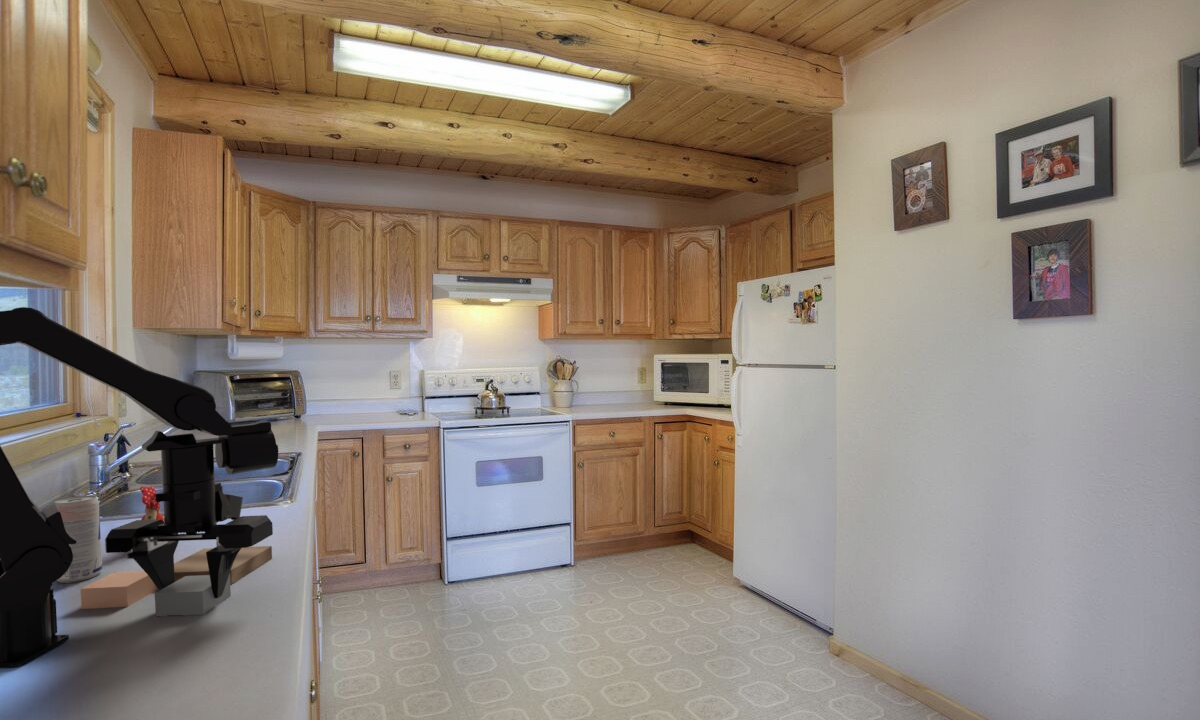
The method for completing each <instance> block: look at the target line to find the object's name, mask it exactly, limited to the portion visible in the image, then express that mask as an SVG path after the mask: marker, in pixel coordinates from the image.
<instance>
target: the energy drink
mask: <svg viewBox="0 0 1200 720" xmlns="http://www.w3.org/2000/svg"><path fill="white" fill-rule="evenodd" d="M53 505H56V506H57V508H58V509H59V511H60V513H61V516H62V520H63V524H64V527H65V528H67V529H68V530H70V531H71V533H72V534H73V536H74V538H75V540H76V541H77V543H76V544H69V545H70V547H71V550H72V553H73V561H72V563H71V565H70V567H69V569H68V570H67V572H66V573H65V574H64V575H63V576H62V577H61V578H59V579H58V580H56V582H59V584H70V583H77V582H78V583H79V582H81V581H86V580H87V581H88V580H89V579H93V578H95V577H97V576H99V575H100V574H101V573H102V571H103V563H102V543H101V541H102V540H101V519H100V517H101V516H100V500H99V499H98V496H97V495H93V494H91V495H79V496H78V495H77V496H71V497H67V498H62V499H59V500H55V501H54V503H53Z"/></svg>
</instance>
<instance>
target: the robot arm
mask: <svg viewBox="0 0 1200 720" xmlns="http://www.w3.org/2000/svg"><path fill="white" fill-rule="evenodd" d="M13 344H20V345H23V346H25V347H27V348H30V349H32V350H34V351H37V352H39V353H41V354H42V355H44V356H46V357H48V358H50V359H52V360H53V361H56V362H58V363H60V364H63V365H65V366H67V367H69V368H70V369H73V370H74V371H77V372H78V373H80V374H82V375H85V376H87V377H88V378H91V379H93V380H95V381H97V382H99V383H101V384H104V385H105V386H108V387H109V388H111V389H114V390H116V391H117V392H120V393H122V394H123V395H124V396H126V397H127V398H129V399H130V400H131V401H133V402H135V404H137V405H138V406H139V407H140V408H142V409H143V410H144V411H146V412H147V413H149V414H150V415H151V416H152V417H155V418H156V419H157V420H158V421H160V422H161V423H162V424H164V425H166V426H168V427H172V428H174V429H177V430H182V431H189V432H190V431H195V430H197V431H198V432H200V433H204V434H210V435H212V436H218V437H211V438H203V439H201V438H200V439H196V436H195V435H194V434H193V433H191V432H190V433H181V434H171V435H166V434H165V433H164V432H163V431H160V430H155V431H154V432H153V434H152V436H151V437H150V438H149V439H148V440H146V441H145V442H144V443H143V444H141V448H142V450H145V451H147V452H157V451H160V455H161V457H160V458H161V460H160V461H161V478H162V491H160V492H156V502H160V503H162V502H163V517H164V521H163V520H161V519H155V520H141V519H135V520H134V521H131V522H128V523H125V524H123V525H120V526H117V527H114V528H111V529H110V531H109V532H108V533H107V535H106V537H105V539H104V541H105V543H104V546H105V548H104V549H105V553H107V554H111V553H113V554H115V553H118V554H120V553H126V558H127V559H133V561H135V562H136V564H138V566H139V567H140V568H141V569H142V571H145V572H146V573H147V575H148V576H149V577H150V579H152V581H153V583H154V584H155V585H156V587H157V588H158V590H157V591H160V590H161V589H163V588H165V587H167V586H169V585H170V584H172V583H174V582H175V574H174V563H175V562H174V561H175V558H174V557H175V552H176V550H177V547H178V544H179V542H181V541H182V542H185V541H186V542H187V541H208V540H212V541H213V540H214V541H215V540H216V542H215V543H216V546H215V547H212V548H213V549H211V550H209V551H207V552H206V556H207V562H208V568H209V574H210V581H211V587H212V591H213V594H214V598H219V597H220V596H222V594H223V591H224V588H225V585H226V583H227V580H228V577H229V574H230V571H231V568H232V565H233V563H234V560H235V558H236V556H237V554H238V553H239V551H240V550H241V548H246V547H254V546H255V545H257V544H258V543H260V542H262V541H264V540H265V539H267V538H269V537H271V536H272V535H274V532H273V530H274V529H273V522H272V521H271V519H270V518H269V516H268V515H266V514H265V515H241V512H242V507H243V506H242V505H243V500H244V498H243V496H239V495H238V496H237V495H234V494H230V493H229V494H228V493H224V491H223V486H222V483H221V482H216V478H215V477H216V476H215V475H216V474H215V462H216V465H217V467H218V469H225V471H226V474H228V475H236V474H241V473H247V472H255V471H261V470H270V469H274V468H276V466H277V464H278V461H279V460H278V459H279V445H278V444H277V441H276V436H275V434H274V432H273V431H272V422H271V421H266V420H263V421H256V422H253V423H247V424H237V425H231V424H230V423H229V422H228V421H227V420H226V419H225V417H223V416H222V415H221V414H220V413H219V412H218V411H217V409H216V408H217V405H216V402H215V401H216V400H215V397H214V396H213V394H212V393H211V392H209V391H208V390H206V389H205V388H203V387H200V386H197V385H194V384H192V383H189V382H186V381H182V380H180V379H177V378H173V377H171V376H170V377H169V376H167V375H164V374H160V373H158V372H154V371H152V370H148V369H146V368H144V367H142V366H140V365H138V364H136V363H134V362H133V361H131V360H129V359H126V357H123V356H121V355H120V354H117V353H116V352H113V351H112V350H110V349H109V348H107V347H104V346H102V345H101V344H99V343H96V342H94V341H93V340H91V339H89V338H87V337H85V336H83V335H82V334H80V333H77V332H75V331H73V330H72V329H69V328H68V327H66V326H64V325H62V324H61V323H58V322H56V321H54V320H53V319H51V318H49V317H48V316H47V315H45V314H44V312H41V311H40V310H38V309H36V308H33V307H27V306H26V307H24V306H21V307H15V308H13V309H10V310H1V311H0V346H4V345H13ZM214 445H215V446H214ZM214 447H215V448H214ZM214 449H215V451H214ZM228 519H229V520H231V521H229V522H225V524H224V523H223V524H217V523H219V522H224V521H226V520H228ZM76 543H77V541H76V540H75V538H74V536H73V534H72V533H71V531H70V530H68V529H67V528H65V527H64V524H63V520H62V516H61V513H60V511H59V509H58V508H57V506H56V505H54V504H52V505H51V506H48V507H47V508H45V509H43V510H42V509H41V508H40V507H39V506H38V505H37V504H36V503H35V502H34V501H33V500H32V498H30V496H29V494H28V493H27V491H26V489H25V487H24V486H23V484H22V482H21V480H20V478H19V477H18V474H17V473H16V470H14V468H13V466H12V464H11V461H10V460H9V458H8V457H7V455H6V453H5V452H4V450H3V447H2V446H1V445H0V668H5V667H6V668H7V667H18V666H22V665H24V664H26V663H28V662H30V661H31V660H33V659H35V658H37V657H38V656H41V655H42V654H45V653H46V652H48V651H49V650H52V649H53V648H55V647H57V646H58V645H61V644H63V643H65V642H66V641H68V640H69V639H70V634H57V633H58V618H57V617H58V616H57V601H56V599H55V598H54V597H55V596H54V587H52V586H53V584H54V582H57V580H58V579H59V578H61V577H62V576H63V575H64V574H65V573H66V572H67V570H68V569H69V567H70V565H71V563H72V561H73V553H72V550H71V547H70V545H69V544H76ZM130 551H131V552H130Z"/></svg>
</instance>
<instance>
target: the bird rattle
mask: <svg viewBox="0 0 1200 720" xmlns="http://www.w3.org/2000/svg"><path fill="white" fill-rule="evenodd" d="M139 490H140V492H141V494H142V497H141V498H140V500H141V502H142V504H143V505H145V510H144V512H145V514H144V515H142V517H141V519H140V520H155V519H161V520H163V521H164V515H163V514H162V513H161V502H156V494H157V490H156V488H155V487H154V486H150V487H148V486H140V487H139Z"/></svg>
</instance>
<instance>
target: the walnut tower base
mask: <svg viewBox="0 0 1200 720" xmlns="http://www.w3.org/2000/svg"><path fill="white" fill-rule="evenodd" d="M213 548H214V547H211V548H202V549H200V550H198V551H196V552H195V553H193V554H191V555H188V556H186V557H184V558H183V559H181V560H178V561H176V562H174V574H175V582H176V581H178V580H179V579H181V578H183V577H185V576H198V575H210V574H209V568H208V562H207V556H206V552H207V551H209V550H211V549H213ZM272 550H273V548H272V545H269V546H268V545H266V546H265V545H263V546H251V547H246V548H241V550H240V551H239V553H238V554H237V556H236V558H235V560H234V563H233V565H232V568H231V571H230V585H233V584H234V583H236V582H237V581H239V580H241V579H242V578H243V577H245V576H247V575H248V574H250V573H252V572H254V570H256V569H258V568H259V567H261V566H263V565H264V564H266V563H267V562H269V561H270V560H271V559H273V551H272Z"/></svg>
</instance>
